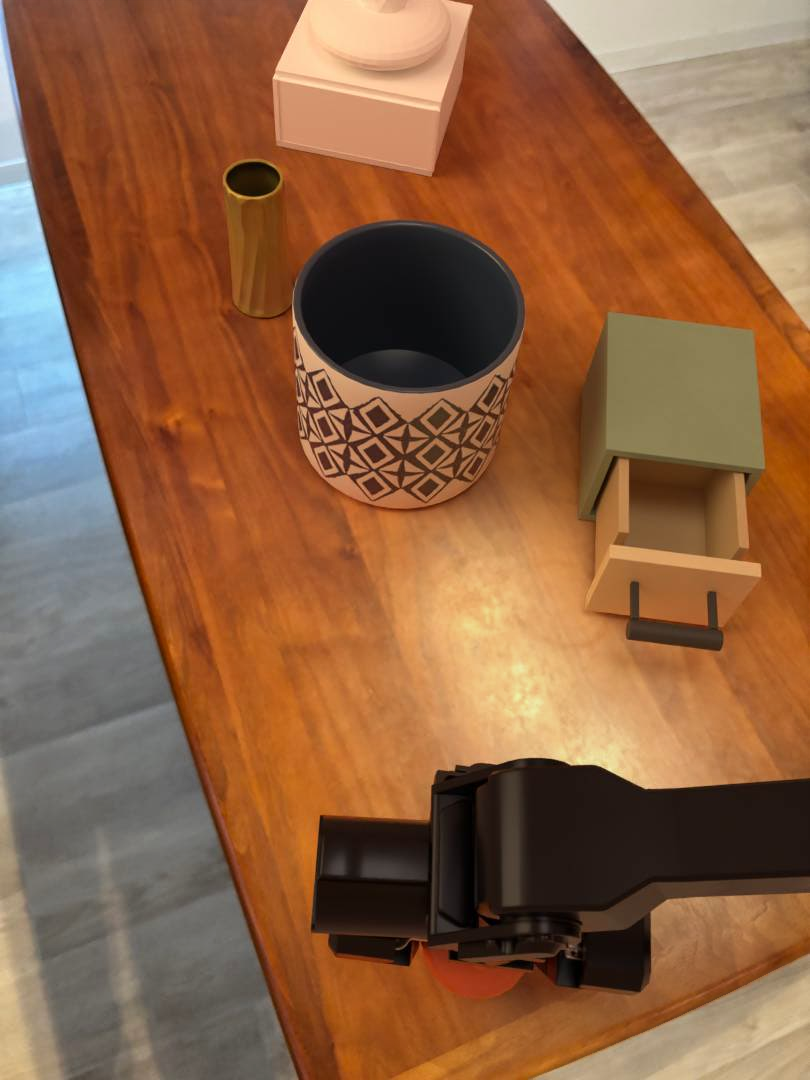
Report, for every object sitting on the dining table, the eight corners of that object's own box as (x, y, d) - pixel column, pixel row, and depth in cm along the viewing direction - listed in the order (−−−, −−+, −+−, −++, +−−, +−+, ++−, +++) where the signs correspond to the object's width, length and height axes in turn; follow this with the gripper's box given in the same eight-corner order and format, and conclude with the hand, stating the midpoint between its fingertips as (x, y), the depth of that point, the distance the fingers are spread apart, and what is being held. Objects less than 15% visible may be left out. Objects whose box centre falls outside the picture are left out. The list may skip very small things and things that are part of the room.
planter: (294, 354, 95) (287, 219, 81) (483, 349, 97) (509, 216, 83) (302, 517, 86) (295, 398, 72) (510, 508, 88) (544, 389, 74)
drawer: (725, 682, 80) (766, 635, 72) (583, 663, 80) (609, 615, 72) (715, 491, 89) (750, 432, 82) (588, 475, 89) (611, 414, 82)
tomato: (526, 1006, 67) (548, 992, 60) (415, 1004, 67) (424, 990, 60) (521, 891, 71) (541, 865, 64) (416, 888, 71) (424, 862, 64)
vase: (224, 282, 100) (208, 163, 87) (282, 267, 101) (275, 147, 89) (244, 326, 97) (230, 209, 85) (303, 309, 98) (299, 192, 86)
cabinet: (721, 537, 88) (765, 469, 79) (578, 519, 88) (606, 448, 79) (713, 406, 95) (754, 329, 86) (582, 389, 95) (607, 311, 86)
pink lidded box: (276, 146, 110) (268, 6, 96) (319, 49, 119) (317, -91, 106) (432, 177, 109) (446, 40, 95) (464, 77, 118) (480, -61, 104)
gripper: (677, 770, 58) (613, 838, 71) (354, 728, 58) (352, 804, 71) (682, 979, 52) (612, 1010, 65) (324, 932, 52) (328, 972, 66)
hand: (473, 941), depth 67 cm, fingers closed on tomato, 7 cm apart
